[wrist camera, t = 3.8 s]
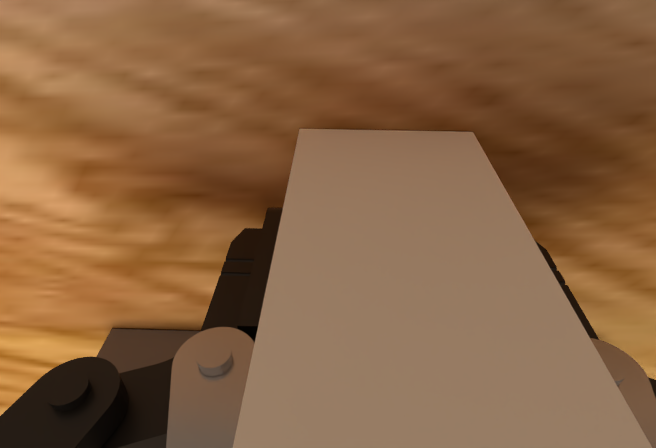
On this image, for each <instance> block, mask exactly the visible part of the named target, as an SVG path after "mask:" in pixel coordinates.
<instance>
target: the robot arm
mask: <svg viewBox="0 0 656 448" xmlns="http://www.w3.org/2000/svg"><path fill="white" fill-rule="evenodd" d="M282 210H283V208H268V209H267V213H266V216H265V220H264V224H263V228H262V229H255V228H245V229H244V230H243V231H242V232H241V233H240V234H239V235H238V236H237V237H236V238H235V239H234V240H233V241H232V242H231V245H230V248H229V250H228V253H227V256H226V262H224V265H223V268H222V271H221V276H220V277H219V280H218V283H217V286H216V288H215V291H214V294H213V297H212V300H211V303H210V306H209V309H208V312H207V315H206V318H205V321H204V324H203V326H202V329H201V331H200V332H199V333H197V334H195V335H194V336H192V337H191V338H189V339H188V340H187V341H186V342H185V343H184V344H183V345H182V346H181V347H180V348H179V350H178V351H177V353H176V355H175V357H173V358H171V359H169V360H167V361H164V362H161V363H158V364H155V365H150V366H146V367H142V368H138V369H134V370H130V371H126V372H122V373H119V372H118V370H117V368H116V367H115V365H113V364H112V363H111V362H110V361H108V360H106V359H103V358H99V357H83V358H77V359H74V360H71V361H68V362H65V363H63V364H61V365H59V366H57V367H55V368H53V369H52V370H50V371H49V372H48V373H46V374H45V375H44V376H42V377H41V378H40V379H39V380H38V381H37V382H36V383H35V384H34V385H32V386H31V387H30V388H29V389H28V390H27V391H26V392H25V393H24V394H23V395H22V396H21V397H20V398H19V399H18V400H17V401H16V402H15V403H14V404H13V405H12V406H10V407H9V408H8V409H7V410H6V411H5V412H4V413H3V414H2V415H1V416H0V448H233V444H234V439H235V434H236V429H237V425H238V420H239V415H240V410H241V406H242V401H243V396H244V391H245V386H246V382H247V377H248V372H249V367H250V363H251V358H252V353H253V348H254V344H255V339H256V334H257V329H258V325H259V320H260V315H261V310H262V305H263V301H264V296H265V291H266V286H267V282H268V277H269V272H270V267H271V263H272V258H273V253H274V248H275V243H276V239H277V234H278V229H279V224H280V220H281V215H282ZM534 241H535V240H534ZM535 242H536V241H535ZM536 244H537V246H538V248H539V249H540V251H541V253H542V255H543V256H544V258H545V260H546V262H547V263H548V265H549V267H550V269H551V270H552V272H553V274H554V276H555V277H556V279H557V281H558V283H559V284H560V286H561V288H562V290H563V292H564V293H565V295H566V297H567V299H568V300H569V302H570V304H571V306H572V307H573V309H574V311H575V313H576V314H577V316H578V318H579V320H580V321H581V323H582V325H583V327H584V328H585V330H586V332H587V334H588V336H589V337H590V339H591V341H592V343H593V344H594V346H595V348H596V350H597V351H598V353H599V355H600V357H601V358H602V360H603V362H604V364H605V365H606V367H607V369H608V371H609V372H610V374H611V376H612V378H613V380H614V381H615V383H616V385H617V387H618V388H619V390H620V392H621V394H622V395H623V397H624V399H625V401H626V402H627V404H628V406H629V408H630V409H631V411H632V413H633V415H634V416H635V418H636V420H637V422H638V423H639V425H640V427H641V429H642V431H643V432H644V434H645V436H646V438H647V439H648V441H649V443H650V445H651V446H652V448H656V380H654V379H651V378H648V376H647V375H646V373H645V372H644V370H643V369H642V368H641V366H640V365H639V364H638V363H637V362H636V361H635V360H634V359H633V358H632V357H630V356H629V355H628V354H626V353H625V352H624V351H622V350H620V349H619V348H617V347H615V346H613V345H611V344H609V343H606V342H604V341H601V340H599V339H598V337H597V335H596V333H595V332H594V330H593V328H592V327H591V325H590V323H589V321H588V320H587V318H586V316H585V315H584V313H583V311H582V310H581V308H580V306H579V304H578V303H577V301H576V299H575V298H574V296H573V294H572V292H571V291H570V289H569V287H568V286H567V285H565V281H564V279H563V277H562V275H561V274H560V272H559V271H557V267H556V265H555V263H554V262H553V260H552V258H551V257H550V255H549V253H548V251H547V250H546V249H545V248H543V247H542V246H541V245H540V244H539V243H537V242H536Z"/></svg>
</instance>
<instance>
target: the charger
mask: <svg viewBox="0 0 656 448" xmlns="http://www.w3.org/2000/svg"><path fill="white" fill-rule="evenodd" d="M233 448H652V446H651V445H650V443H649V441H648V439H647V438H646V436H645V434H644V432H643V431H642V429H641V427H640V425H639V423H638V422H637V420H636V418H635V416H634V415H633V413H632V411H631V409H630V408H629V406H628V404H627V402H626V401H625V399H624V397H623V395H622V394H621V392H620V390H619V388H618V387H617V385H616V383H615V381H614V380H613V378H612V376H611V374H610V372H609V371H608V369H607V367H606V365H605V364H604V362H603V360H602V358H601V357H600V355H599V353H598V351H597V350H596V348H595V346H594V344H593V343H592V341H591V339H590V337H589V336H588V334H587V332H586V330H585V328H584V327H583V325H582V323H581V321H580V320H579V318H578V316H577V314H576V313H575V311H574V309H573V307H572V306H571V304H570V302H569V300H568V299H567V297H566V295H565V293H564V292H563V290H562V288H561V286H560V284H559V283H558V281H557V279H556V277H555V276H554V274H553V272H552V270H551V269H550V267H549V265H548V263H547V262H546V260H545V258H544V256H543V255H542V253H541V251H540V249H539V248H538V246H537V244H536V242H535V241H534V239H533V237H532V235H531V233H530V232H529V230H528V228H527V226H526V225H525V223H524V221H523V219H522V218H521V216H520V214H519V212H518V211H517V209H516V207H515V205H514V204H513V202H512V200H511V198H510V197H509V195H508V193H507V191H506V189H505V188H504V186H503V184H502V182H501V181H500V179H499V177H498V175H497V174H496V172H495V170H494V168H493V167H492V165H491V163H490V161H489V160H488V158H487V156H486V154H485V153H484V151H483V149H482V147H481V145H480V144H479V142H478V140H477V138H476V137H475V135H474V133H473V132H455V131H400V130H344V129H299V134H298V139H297V143H296V148H295V153H294V158H293V162H292V167H291V172H290V177H289V181H288V186H287V191H286V196H285V201H284V205H283V210H282V215H281V220H280V224H279V229H278V234H277V239H276V243H275V248H274V253H273V258H272V263H271V267H270V272H269V277H268V282H267V286H266V291H265V296H264V301H263V305H262V310H261V315H260V320H259V325H258V329H257V334H256V339H255V344H254V348H253V353H252V358H251V363H250V367H249V372H248V377H247V382H246V386H245V391H244V396H243V401H242V406H241V410H240V415H239V420H238V425H237V429H236V434H235V439H234V444H233Z"/></svg>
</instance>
